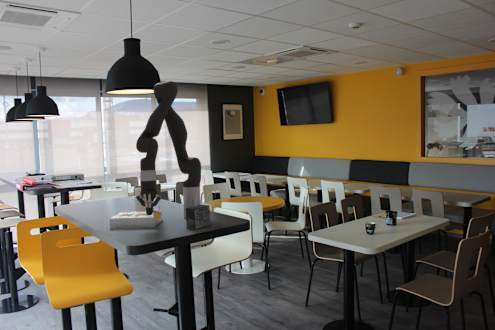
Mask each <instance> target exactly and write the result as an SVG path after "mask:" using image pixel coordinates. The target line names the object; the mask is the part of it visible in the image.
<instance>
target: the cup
mask: <svg viewBox="0 0 495 330" xmlns="http://www.w3.org/2000/svg"><path fill="white" fill-rule="evenodd" d="M133 189H134V203H135V204H134V205H135V206H134V207H135V209H134V212H142V211H146V207H144V206H142V205H141V203H140V202H139V201H138V199H137V198H136V197H137V196H139V195H140V192H141V186H140V187H134V188H133ZM143 200H144V199H143Z"/></svg>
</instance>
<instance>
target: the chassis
mask: <svg viewBox="0 0 495 330" xmlns="http://www.w3.org/2000/svg"><path fill="white" fill-rule="evenodd" d="M160 212H161V219H158V220H154V214H152V215H147V214H146V211H142V212H135V211H120V212H119V213H116V214H115V215H113V216H111V217H110V218H109V229H115V230H116V229H141V228H144V229H145V228H155V227H156V226H158V225H159V224H160V223H161V221H163V218H162V216H163V215H162V213H163V212H162V210H160Z"/></svg>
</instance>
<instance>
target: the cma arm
mask: <svg viewBox="0 0 495 330" xmlns="http://www.w3.org/2000/svg"><path fill="white" fill-rule="evenodd" d="M160 208H161V207H160V205H156V206H154V207H153V214H154V220H158V219H161V212H160V211H161V210H160Z"/></svg>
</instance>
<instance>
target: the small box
mask: <svg viewBox="0 0 495 330" xmlns="http://www.w3.org/2000/svg"><path fill="white" fill-rule="evenodd" d="M210 208H211V207H210V205H209V204H201V205H198V206H193V207H188V208H186V219H185V221H186V223H185V224H186V230H191V231H199V230H202V229H205V228H210V227H211V213H210V212H211V211H210V210H211V209H210Z"/></svg>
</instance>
